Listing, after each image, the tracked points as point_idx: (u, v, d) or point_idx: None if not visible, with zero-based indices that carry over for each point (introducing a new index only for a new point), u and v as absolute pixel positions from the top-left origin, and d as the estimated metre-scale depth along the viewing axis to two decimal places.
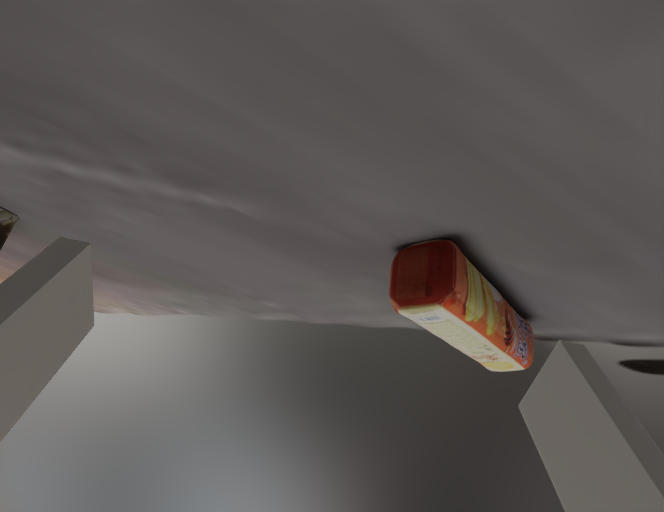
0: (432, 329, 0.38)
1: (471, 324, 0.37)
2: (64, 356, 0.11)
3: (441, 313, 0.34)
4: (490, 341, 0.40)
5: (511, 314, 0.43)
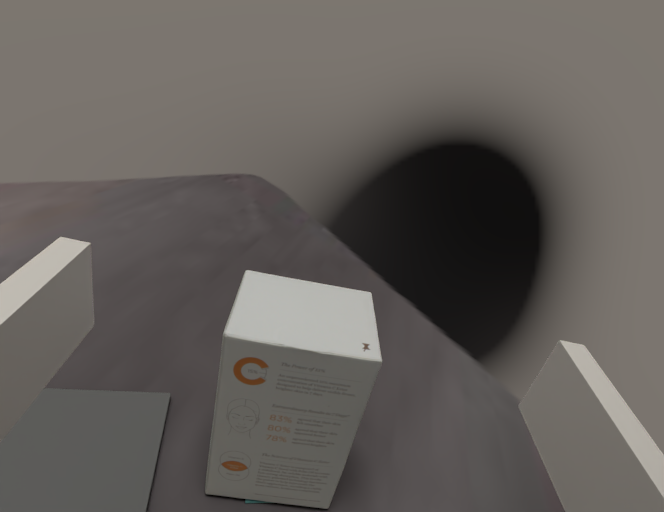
0: None
1: None
2: (64, 356, 0.11)
3: None
4: None
5: None
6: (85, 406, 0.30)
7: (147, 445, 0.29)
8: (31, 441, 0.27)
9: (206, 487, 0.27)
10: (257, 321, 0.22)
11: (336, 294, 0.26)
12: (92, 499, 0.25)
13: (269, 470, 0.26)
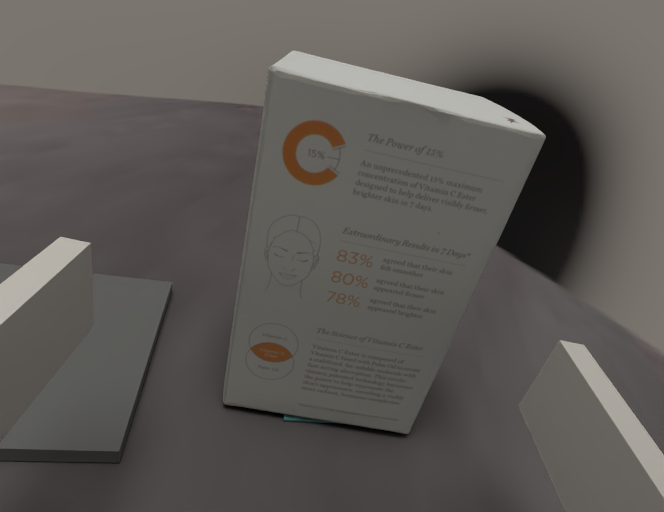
0: None
1: None
2: (64, 356, 0.11)
3: None
4: None
5: None
6: None
7: (136, 337, 0.19)
8: None
9: (225, 392, 0.17)
10: (325, 71, 0.13)
11: (435, 86, 0.17)
12: (44, 398, 0.16)
13: (326, 360, 0.16)
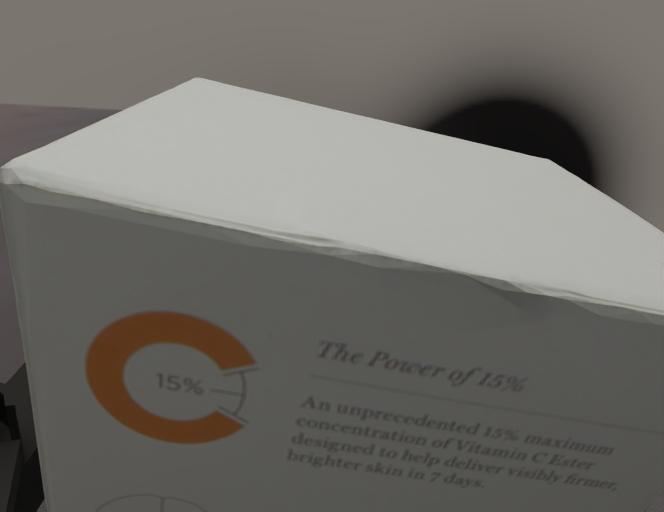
0: None
1: None
2: None
3: None
4: None
5: None
6: None
7: None
8: None
9: None
10: (209, 155, 0.05)
11: (468, 147, 0.09)
12: None
13: None
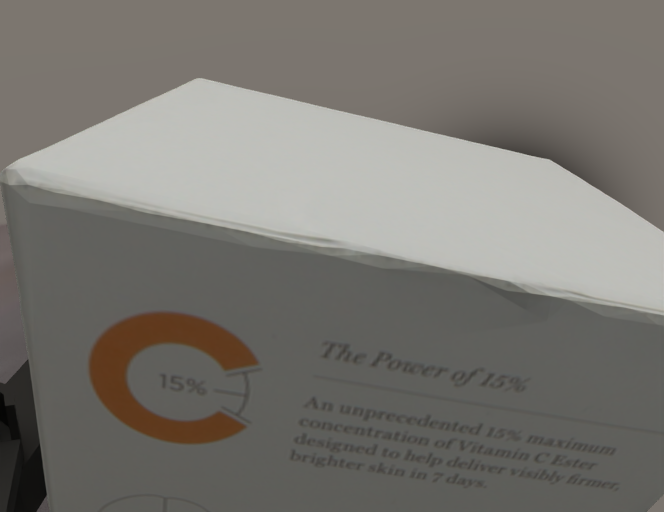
0: None
1: None
2: None
3: None
4: None
5: None
6: None
7: None
8: None
9: None
10: (211, 156, 0.05)
11: (469, 147, 0.09)
12: None
13: None
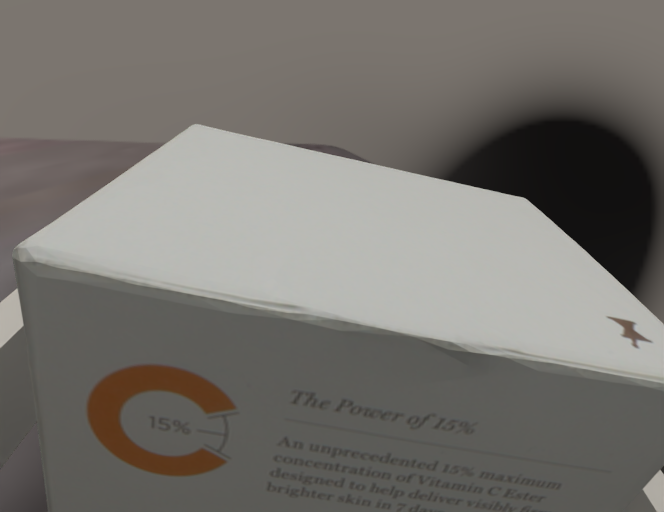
0: None
1: None
2: None
3: None
4: None
5: None
6: None
7: None
8: None
9: None
10: (197, 221, 0.06)
11: (445, 190, 0.09)
12: None
13: None
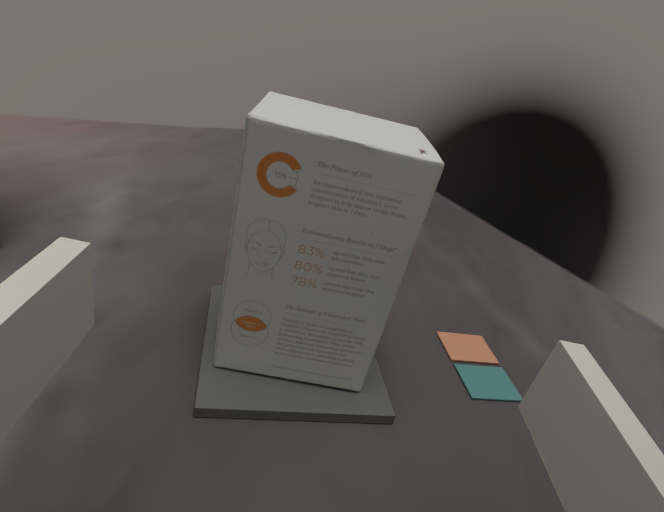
0: None
1: None
2: (64, 356, 0.11)
3: None
4: None
5: None
6: None
7: None
8: None
9: (215, 356, 0.22)
10: (288, 115, 0.18)
11: (378, 120, 0.22)
12: None
13: (292, 330, 0.21)
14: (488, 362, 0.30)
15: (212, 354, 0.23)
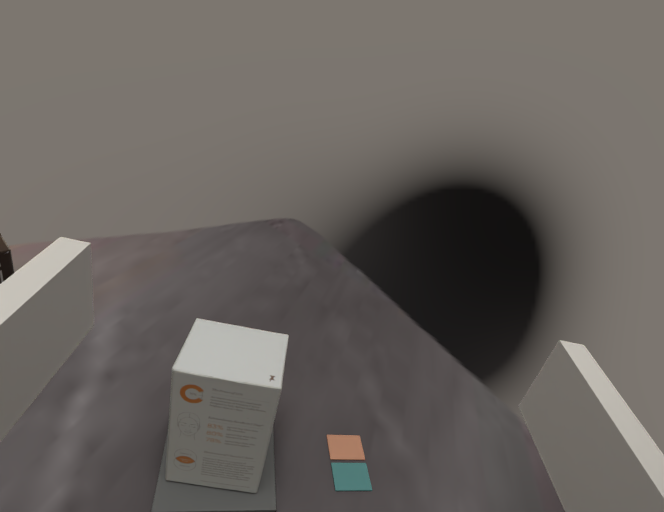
0: None
1: None
2: (64, 356, 0.11)
3: None
4: None
5: None
6: None
7: None
8: None
9: (166, 475, 0.37)
10: (197, 359, 0.32)
11: (260, 337, 0.36)
12: None
13: (210, 463, 0.36)
14: (357, 458, 0.44)
15: None
